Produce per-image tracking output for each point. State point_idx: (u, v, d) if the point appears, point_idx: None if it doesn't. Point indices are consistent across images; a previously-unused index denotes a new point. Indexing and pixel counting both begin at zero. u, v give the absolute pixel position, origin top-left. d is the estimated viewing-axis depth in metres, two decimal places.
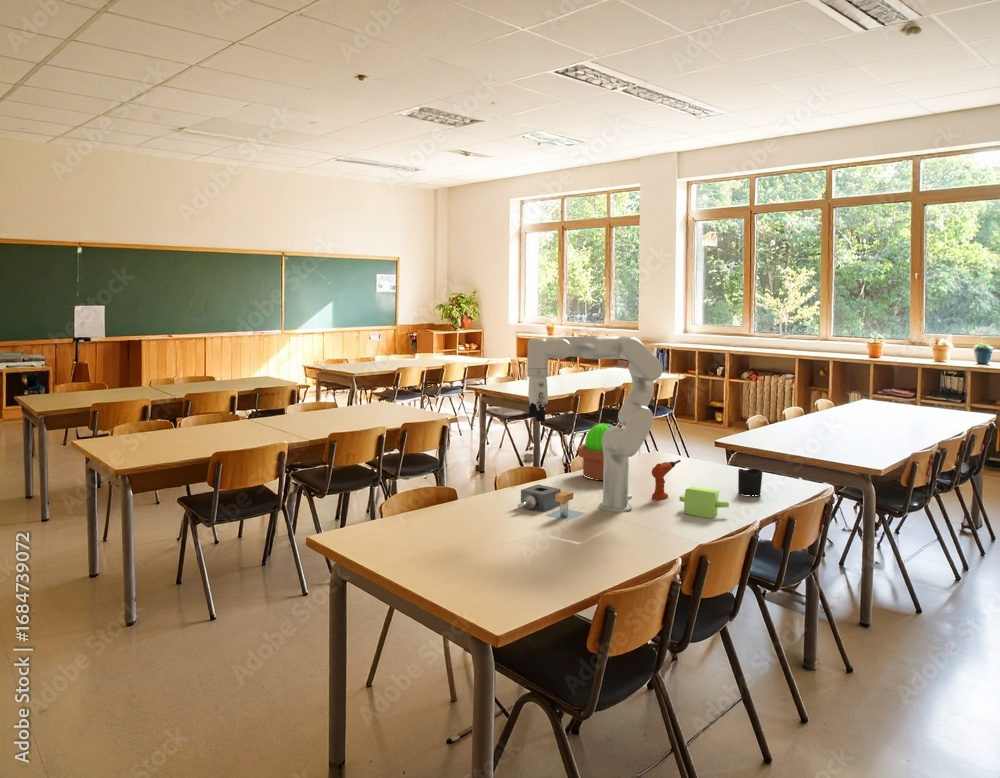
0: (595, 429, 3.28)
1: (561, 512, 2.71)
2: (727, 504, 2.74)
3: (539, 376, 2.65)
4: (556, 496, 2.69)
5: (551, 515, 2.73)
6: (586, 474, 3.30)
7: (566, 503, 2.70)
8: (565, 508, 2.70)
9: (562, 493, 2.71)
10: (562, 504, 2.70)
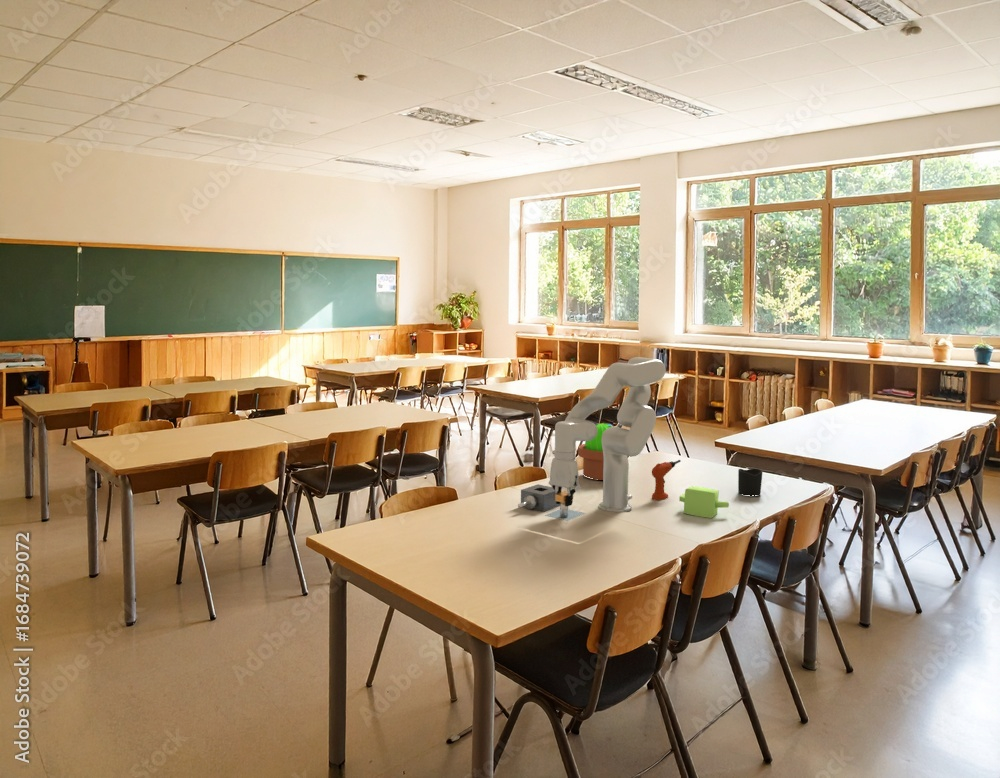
0: None
1: (561, 512, 2.71)
2: (727, 504, 2.74)
3: None
4: (556, 496, 2.69)
5: (551, 515, 2.73)
6: (586, 474, 3.30)
7: None
8: (565, 508, 2.70)
9: (562, 493, 2.71)
10: (562, 504, 2.70)
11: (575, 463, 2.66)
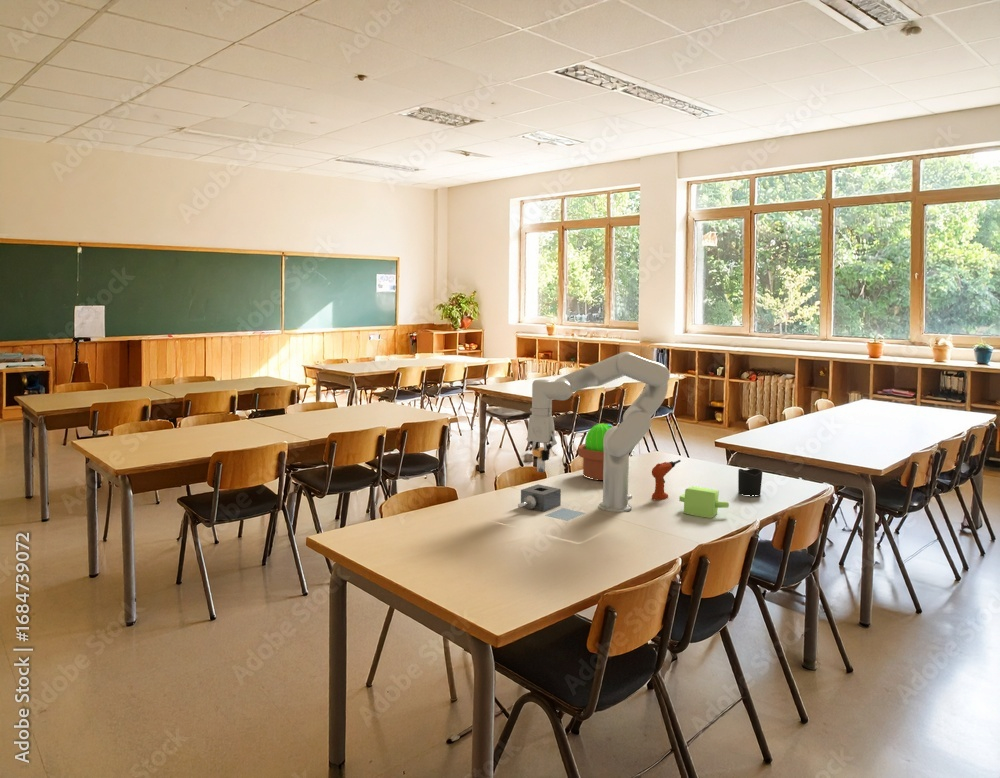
0: (595, 429, 3.28)
1: (538, 467, 2.83)
2: (727, 504, 2.74)
3: None
4: (533, 451, 2.81)
5: (551, 515, 2.73)
6: (586, 474, 3.30)
7: None
8: (542, 463, 2.82)
9: (539, 448, 2.83)
10: (539, 459, 2.82)
11: (551, 419, 2.79)
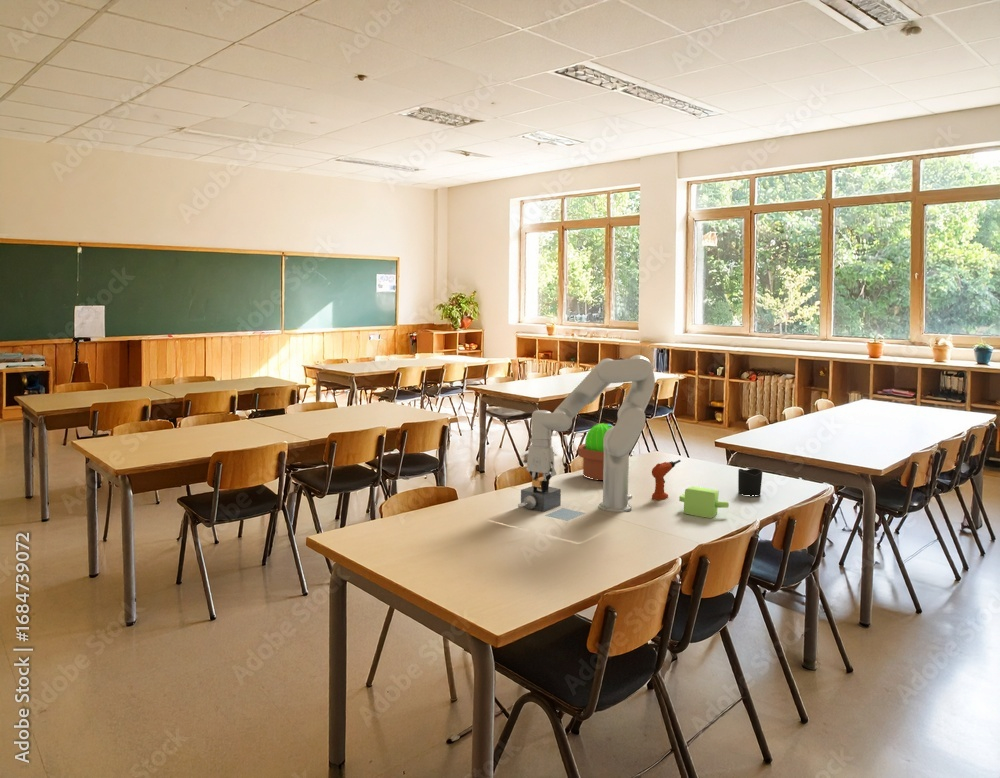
0: (595, 429, 3.28)
1: None
2: (727, 504, 2.74)
3: None
4: (533, 481, 2.83)
5: (551, 515, 2.73)
6: (586, 474, 3.30)
7: None
8: None
9: (538, 479, 2.84)
10: (538, 489, 2.84)
11: (551, 450, 2.80)
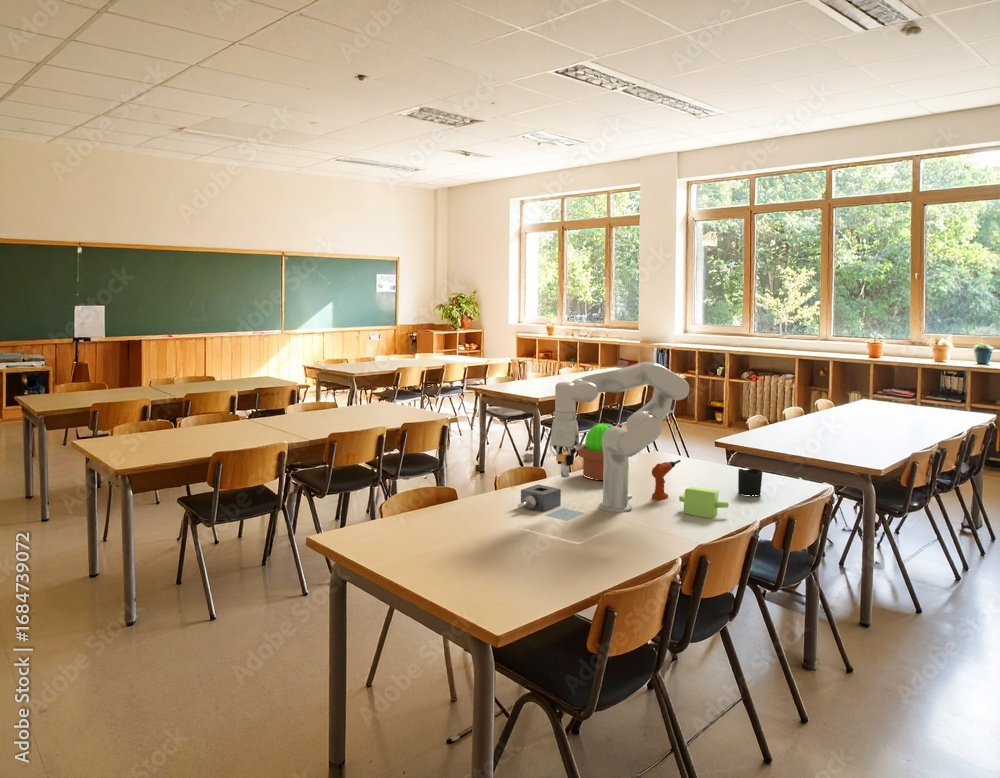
0: (595, 429, 3.28)
1: (562, 472, 2.75)
2: (727, 504, 2.74)
3: None
4: (557, 456, 2.73)
5: (551, 515, 2.73)
6: (586, 474, 3.30)
7: None
8: (566, 468, 2.74)
9: (563, 453, 2.75)
10: (563, 464, 2.74)
11: (575, 423, 2.71)
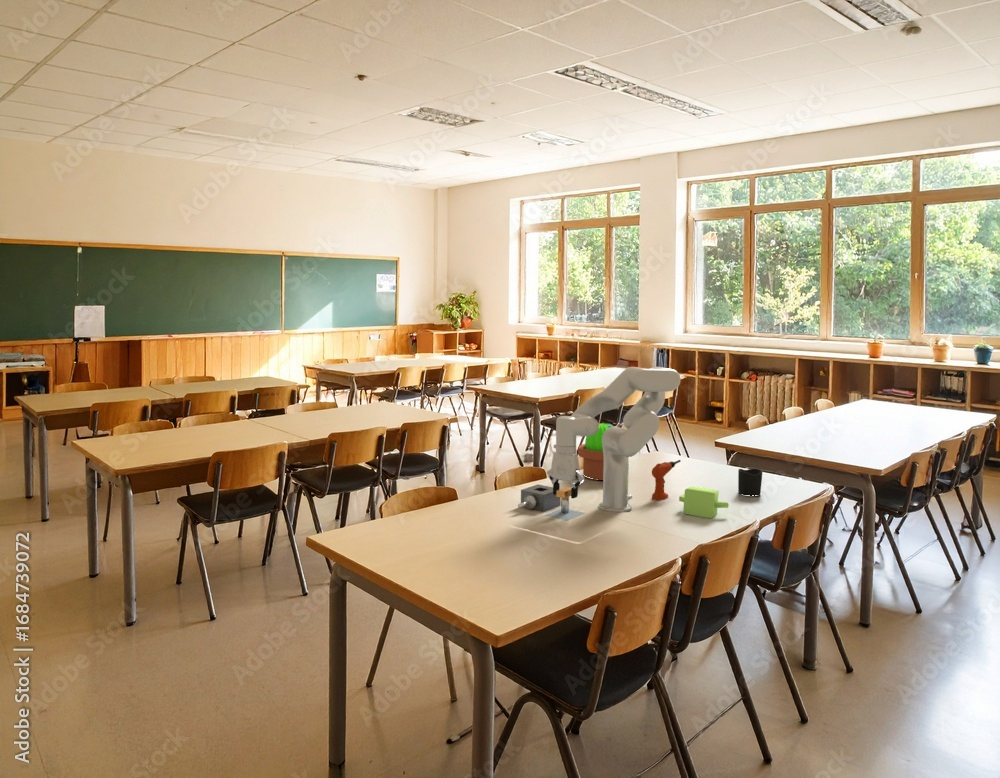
0: None
1: (562, 507, 2.76)
2: (727, 504, 2.74)
3: None
4: (557, 492, 2.75)
5: (551, 515, 2.73)
6: (586, 474, 3.30)
7: (567, 499, 2.76)
8: (566, 504, 2.76)
9: (563, 489, 2.76)
10: (563, 500, 2.76)
11: (576, 457, 2.72)
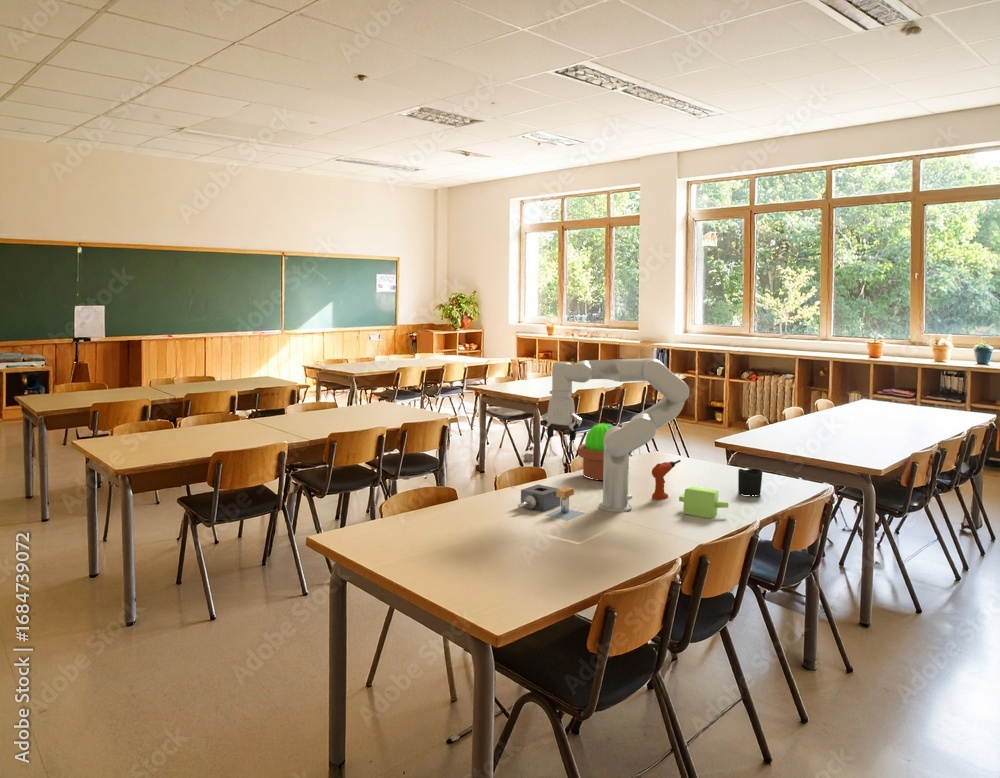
0: (595, 429, 3.28)
1: (562, 508, 2.76)
2: (727, 504, 2.74)
3: None
4: (557, 492, 2.75)
5: (551, 515, 2.73)
6: (586, 474, 3.30)
7: (567, 499, 2.75)
8: (566, 504, 2.76)
9: (563, 489, 2.76)
10: (563, 500, 2.76)
11: (572, 401, 2.79)
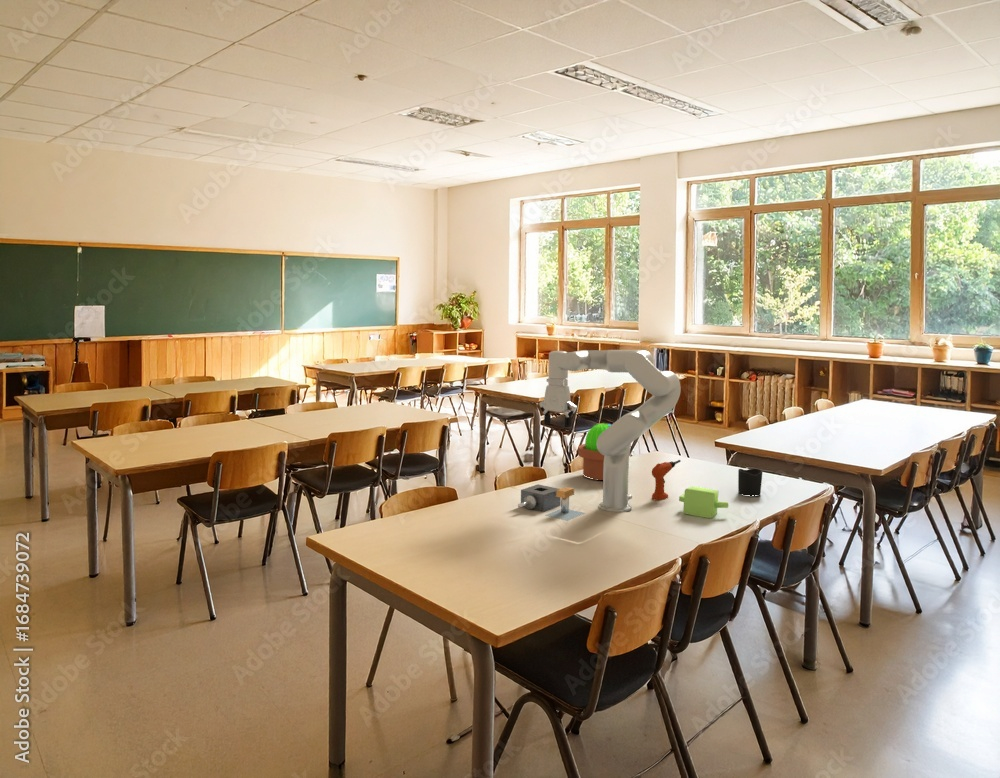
0: (595, 429, 3.28)
1: (562, 507, 2.76)
2: (726, 504, 2.74)
3: None
4: (557, 492, 2.75)
5: (551, 515, 2.73)
6: (586, 474, 3.30)
7: (567, 499, 2.76)
8: (566, 504, 2.76)
9: (563, 489, 2.76)
10: (563, 500, 2.76)
11: (567, 389, 2.87)
